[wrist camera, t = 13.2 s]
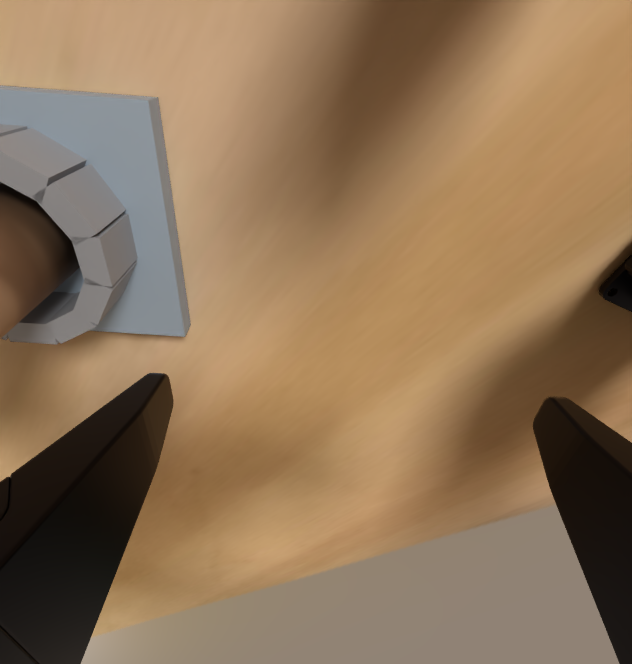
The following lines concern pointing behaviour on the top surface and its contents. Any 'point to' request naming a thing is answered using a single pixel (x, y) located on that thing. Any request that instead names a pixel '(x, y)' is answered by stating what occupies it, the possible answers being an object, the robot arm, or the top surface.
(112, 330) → the collar socket
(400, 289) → the top surface
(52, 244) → the walnut peg
